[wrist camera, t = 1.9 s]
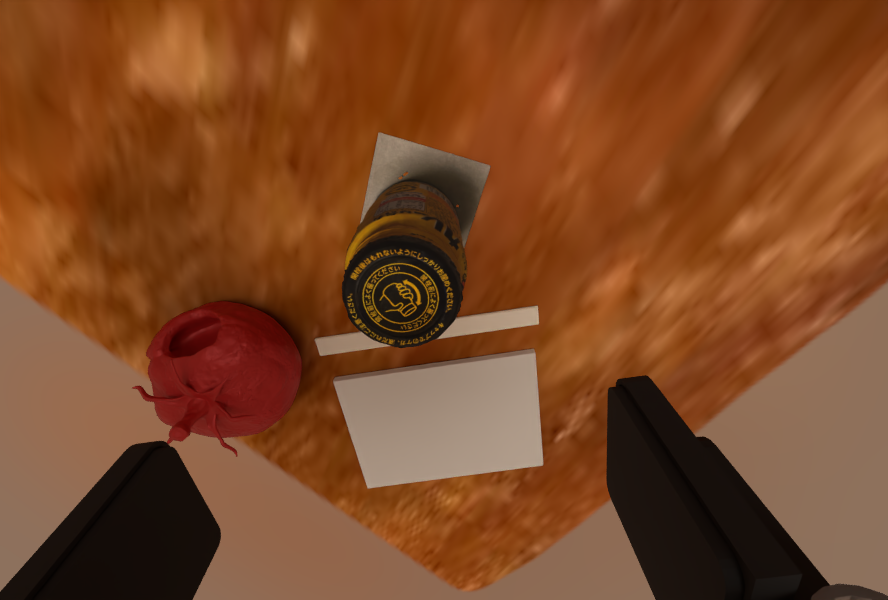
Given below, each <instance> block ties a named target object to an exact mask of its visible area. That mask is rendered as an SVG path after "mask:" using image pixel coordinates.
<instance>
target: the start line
mask: <svg viewBox="0 0 888 600" xmlns="http://www.w3.org/2000/svg"><path fill="white" fill-rule="evenodd" d="M537 324H539V316H538V306H531V307H524V308H517V309H510V310H503V311H497V312H490V313H483V314H476V315H469V316H463V317H456V319H455V321H454V322H453V323H452V324H451V325H450V326H449V327H448V329H447V330H446V331H445V332H444V333H443V334H442V335H441V336H440V337H439V338H437V339H441V338H448V337H454V336H461V335H468V334H475V333H482V332H489V331H496V330H502V329H509V328H516V327H523V326H530V325H537ZM315 342H316V345H317V348H318V351H319V354H320V356H324V355H331V354H338V353H344V352H351V351H358V350H365V349H372V348H379V347H386V346H390V345H387V344H383V343H379V342H377V341H374V340H372V339H370V338H369V337H367V336H366V335H365V334H364V333H362V332H354V333H347V334H341V335H334V336H327V337H320V338H315Z"/></svg>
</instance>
